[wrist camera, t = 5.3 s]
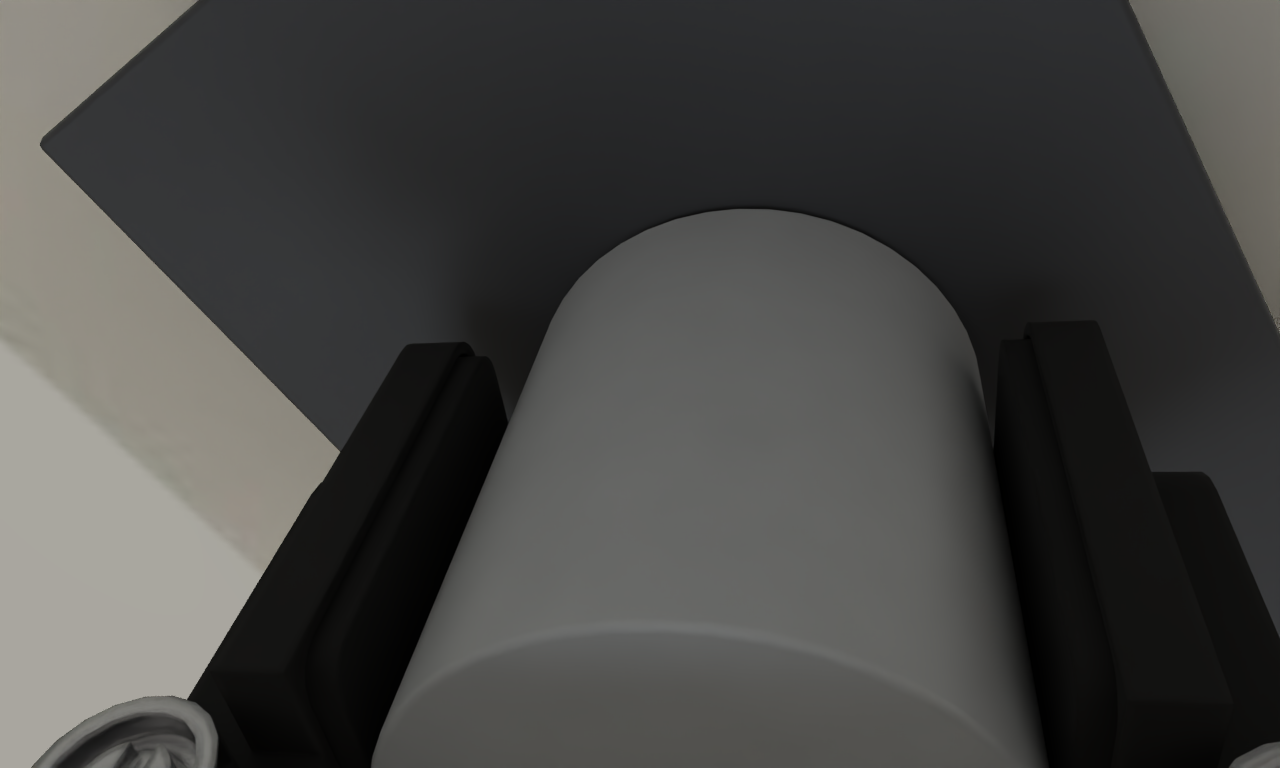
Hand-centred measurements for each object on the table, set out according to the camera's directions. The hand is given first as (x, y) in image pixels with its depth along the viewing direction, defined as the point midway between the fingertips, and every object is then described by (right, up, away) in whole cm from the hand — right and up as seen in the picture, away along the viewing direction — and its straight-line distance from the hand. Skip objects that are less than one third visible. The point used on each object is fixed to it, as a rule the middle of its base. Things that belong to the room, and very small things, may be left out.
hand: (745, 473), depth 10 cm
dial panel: (+1, +2, +3) cm, 4 cm away
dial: (0, +1, +1) cm, 1 cm away
